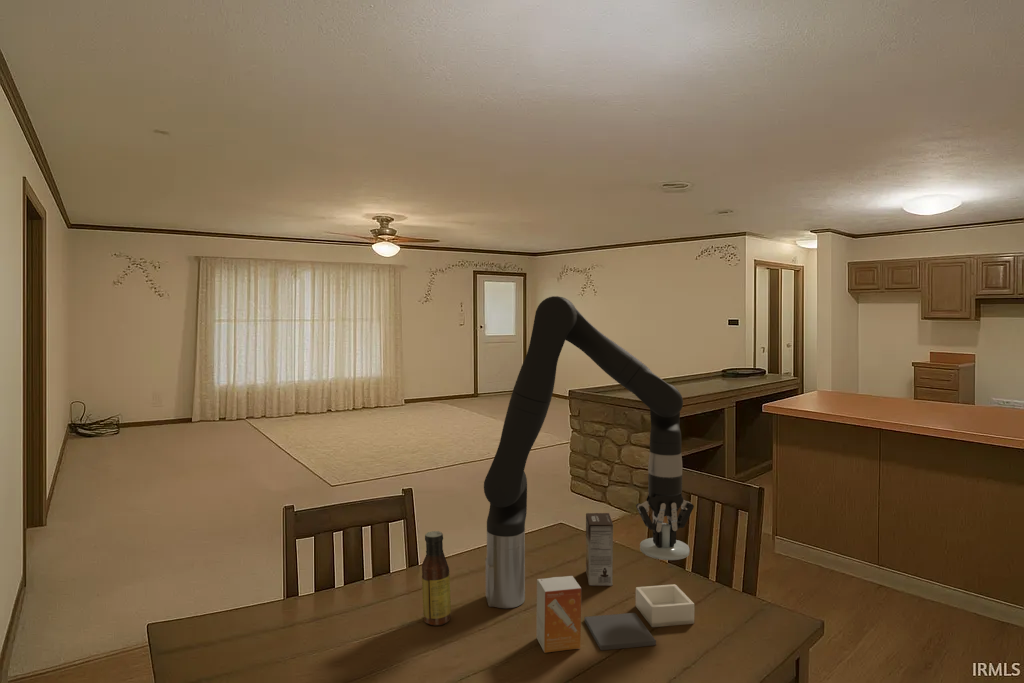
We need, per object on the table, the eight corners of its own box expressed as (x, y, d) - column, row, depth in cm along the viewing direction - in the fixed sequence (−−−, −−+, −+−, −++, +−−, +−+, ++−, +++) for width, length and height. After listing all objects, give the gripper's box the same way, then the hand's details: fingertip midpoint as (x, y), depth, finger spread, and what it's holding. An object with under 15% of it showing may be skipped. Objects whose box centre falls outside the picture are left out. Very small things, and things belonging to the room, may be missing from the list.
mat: (600, 650, 124) (600, 645, 124) (584, 621, 136) (584, 616, 136) (655, 645, 126) (655, 640, 126) (635, 616, 138) (635, 612, 138)
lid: (651, 561, 132) (651, 534, 132) (633, 543, 143) (633, 518, 143) (698, 558, 134) (698, 531, 134) (676, 540, 145) (676, 515, 145)
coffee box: (585, 570, 163) (585, 512, 162) (608, 570, 163) (609, 512, 162) (588, 586, 154) (588, 524, 153) (613, 586, 154) (614, 524, 153)
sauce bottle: (456, 616, 138) (455, 531, 137) (441, 629, 133) (441, 540, 132) (431, 610, 141) (431, 527, 140) (416, 623, 135) (416, 536, 134)
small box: (544, 654, 123) (544, 591, 122) (535, 637, 129) (536, 578, 129) (581, 649, 125) (582, 587, 124) (571, 633, 131) (572, 574, 130)
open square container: (651, 627, 134) (652, 607, 133) (635, 605, 143) (635, 587, 143) (694, 623, 135) (694, 603, 135) (675, 602, 145) (675, 584, 145)
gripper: (642, 477, 133) (641, 554, 134) (701, 474, 135) (700, 550, 136) (630, 468, 140) (629, 541, 141) (686, 466, 143) (685, 538, 143)
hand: (664, 545), depth 139 cm, fingers closed on lid, 2 cm apart
